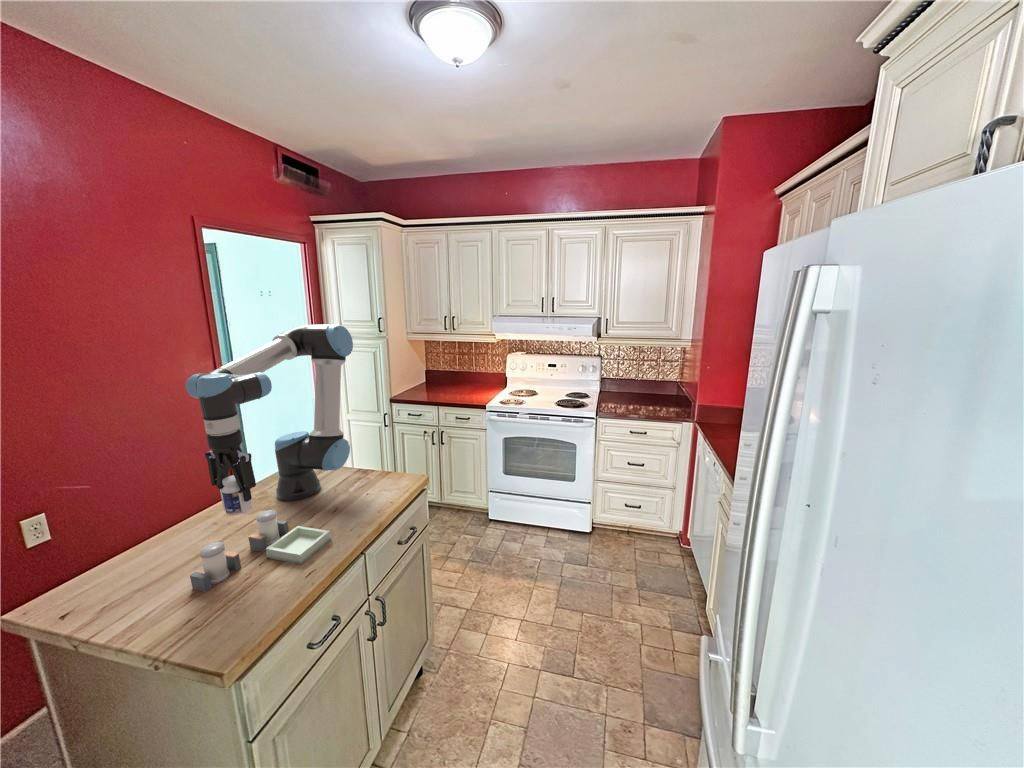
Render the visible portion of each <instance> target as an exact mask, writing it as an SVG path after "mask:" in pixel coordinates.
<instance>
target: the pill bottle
mask: <svg viewBox="0 0 1024 768" xmlns="http://www.w3.org/2000/svg"><path fill="white" fill-rule="evenodd" d="M222 482H223V485H224V487H223V489H222V495H223V500H224V506H225V514H226V515H228V516H237V515H241V514H243V513H242V511H241V505H240V500H239V495H238V491H240V488H239V486H238V484H237V481H236V479H235V477H234V474H233V475H229V476H228V477H226V478H224V479H223V480H222Z"/></svg>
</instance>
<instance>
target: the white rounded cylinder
mask: <svg viewBox="0 0 1024 768" xmlns="http://www.w3.org/2000/svg"><path fill="white" fill-rule="evenodd" d="M225 547H226V546H225V543H224V542H222V541H216V542H211V543H209V544H206V545H205V546H203V547H202V548H201V549H200V550H199V555H200V557H201V563H202V568H203V573H204V574H209V578H210V583H211V585H216V584H219V583H222V582H223V581H225V580H227V579H228V577H229V576H230V574H231V573H230V569H228V565H227V560H226V554H225V551H226V550H225V549H226V548H225Z"/></svg>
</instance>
